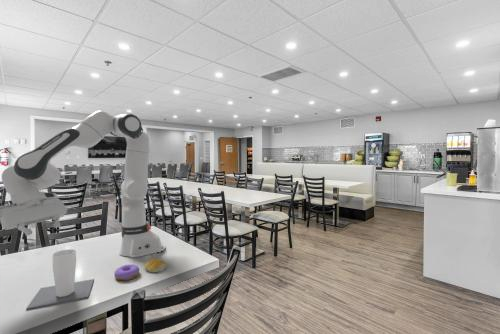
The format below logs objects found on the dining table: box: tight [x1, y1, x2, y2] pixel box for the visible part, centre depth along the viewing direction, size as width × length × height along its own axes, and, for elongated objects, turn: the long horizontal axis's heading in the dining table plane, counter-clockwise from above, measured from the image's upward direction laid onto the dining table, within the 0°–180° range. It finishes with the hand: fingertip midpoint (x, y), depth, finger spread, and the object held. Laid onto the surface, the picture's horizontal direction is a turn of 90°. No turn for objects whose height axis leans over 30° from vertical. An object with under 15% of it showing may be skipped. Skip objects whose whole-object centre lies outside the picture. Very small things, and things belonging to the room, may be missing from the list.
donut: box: [113, 263, 140, 281], centre depth 105 cm, size 10×9×5 cm
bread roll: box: [144, 258, 167, 274], centre depth 112 cm, size 8×9×4 cm
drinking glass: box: [52, 248, 77, 297], centre depth 90 cm, size 7×7×15 cm
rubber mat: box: [25, 278, 95, 311], centre depth 91 cm, size 17×14×1 cm
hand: (44, 230), depth 96 cm, fingers open, 8 cm apart
